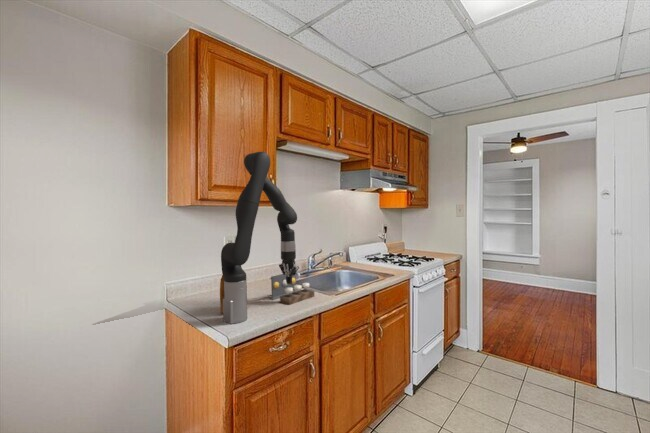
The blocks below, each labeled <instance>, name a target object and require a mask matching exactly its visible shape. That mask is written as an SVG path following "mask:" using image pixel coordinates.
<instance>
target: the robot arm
mask: <svg viewBox="0 0 650 433" xmlns="http://www.w3.org/2000/svg"><path fill="white" fill-rule="evenodd" d="M270 158H271V157H270V155H269V154H268V152H266V151H256V152H251V153H248V154H246V155H245V157H244V159H243V165H244V168H245V169H246V171H247V172H248V174H249V175H250V179H249V181H247V184H246V186H244V188H243V190H242V191H241V192H240V195H239V197H238V200H237V203H236V208H235V220H236V227H237V229H236V230H237V231H236V236H235V239H234V242H228V243H226V244H224V245H223V246H222V249H221V252H220V253H221V254H220V261H221V262H220V264H221V266H220V267H221V273H222V275H223V276H224V291H225V298H224V299H223V314H222V320H223V322H226V323H228V324H230V325H233V324H237V323H242V322H245V321H247V320H248V292H247V291H248V285H247V272H246V271H245V270H244V269H243V267H242V266H243V265H245V264H246V263H247V262H248V259H249V257H250V254H251V247H252V238H253V232H254V227H255V223H256V220H257V215H258V211H259V206H260V201H261V197H262V193H264V194H265V195H266V197H267V199H268V200H269V202H270V204H271V206H272V208H273V209H274V210H275V211H277V212H278V213H277V216H276V221H277V225H278V230H279V232H280V259H281V263H279V264H278V267H279V269H280V270H281V273H282V274H283V275H285V276H286V282H287V284H291V283H292V276H293V275H295V274H296V275H297V272H298V270H299V268H300V267H299V266H298V265H296V261H295V260H296V259H297V255H296V253H297V250H296V240H295V238H296V236H295V235H296V234H295V230H294V229H292V228H291V226H290V225H294V224H296V223H297V221H298V214H297V212H296V211H295V209H294V208H293V207H292V206H291V205H290V203H289V202H288V201H287V200H286V199H285V196H284V194H283V193H282V191H281V190H280V188H279V187H278V186H277V185H276V184H274V182H273V181H271V180H270V179H269V177H268V173H269V172H270V171H269V170H270V168H271V159H270Z"/></svg>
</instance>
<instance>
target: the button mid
mask: <svg viewBox="0 0 650 433" xmlns="http://www.w3.org/2000/svg"><path fill="white" fill-rule="evenodd" d="M294 290H295V291H300V290H302V284H296V285H294Z"/></svg>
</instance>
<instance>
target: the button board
mask: <svg viewBox="0 0 650 433" xmlns="http://www.w3.org/2000/svg"><path fill="white" fill-rule="evenodd" d="M314 297H315V290H313V289H309V288H302V289H301V290H300V291H296V292H293V293H289V294H286V295H283V296H280V298H279V299H280V300H279V302H280V303H283V304H286V305H289V306H290V305H294V304H296V303H300V302H301V301H305V300H307V299H312V298H314Z"/></svg>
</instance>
